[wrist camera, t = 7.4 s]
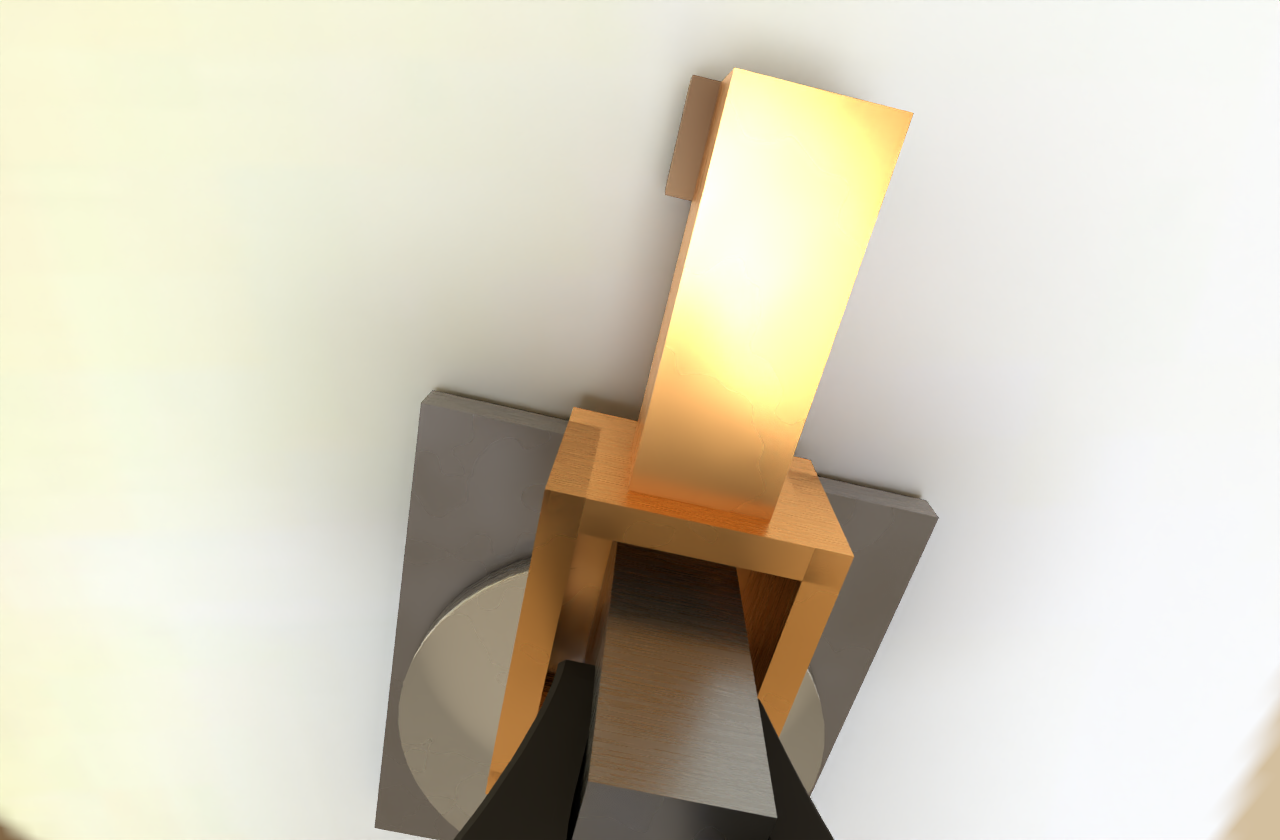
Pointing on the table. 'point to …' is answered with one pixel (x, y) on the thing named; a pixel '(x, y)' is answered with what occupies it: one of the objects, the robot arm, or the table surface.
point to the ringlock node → (666, 469)
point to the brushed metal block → (671, 707)
